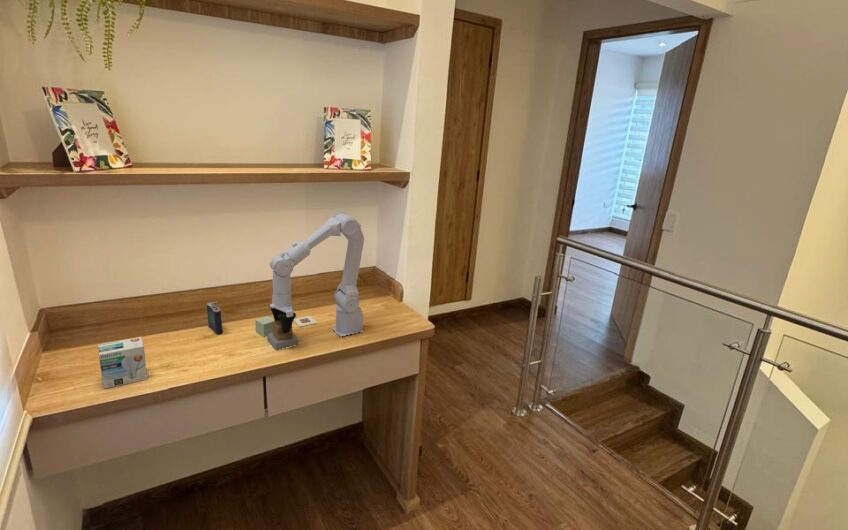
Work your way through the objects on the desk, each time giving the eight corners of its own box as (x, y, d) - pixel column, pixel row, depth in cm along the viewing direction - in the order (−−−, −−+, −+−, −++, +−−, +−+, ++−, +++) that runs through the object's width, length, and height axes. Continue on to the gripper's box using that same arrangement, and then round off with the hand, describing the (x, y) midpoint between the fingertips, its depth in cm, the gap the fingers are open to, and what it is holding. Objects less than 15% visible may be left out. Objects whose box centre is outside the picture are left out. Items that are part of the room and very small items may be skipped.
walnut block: (287, 331, 158) (287, 318, 157) (292, 337, 155) (292, 324, 153) (273, 334, 156) (272, 321, 154) (277, 340, 152) (277, 327, 150)
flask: (207, 325, 163) (205, 298, 160) (215, 323, 165) (213, 296, 162) (216, 335, 157) (214, 307, 153) (225, 333, 159) (223, 305, 155)
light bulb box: (103, 389, 124) (97, 355, 120) (102, 377, 129) (96, 344, 125) (148, 379, 130) (144, 346, 127) (145, 368, 135) (141, 336, 132)
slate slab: (289, 336, 161) (289, 329, 160) (298, 346, 155) (298, 338, 154) (267, 341, 157) (267, 334, 156) (275, 351, 151) (275, 343, 150)
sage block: (268, 328, 165) (267, 315, 164) (276, 332, 162) (275, 320, 161) (255, 332, 161) (255, 319, 160) (263, 337, 159) (263, 324, 157)
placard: (309, 316, 177) (309, 315, 177) (317, 323, 172) (317, 322, 172) (292, 319, 173) (292, 318, 173) (299, 327, 168) (299, 325, 168)
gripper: (262, 285, 153) (263, 322, 157) (277, 301, 142) (278, 339, 146) (283, 282, 157) (283, 318, 161) (299, 297, 146) (299, 334, 150)
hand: (282, 328), depth 154 cm, fingers open, 7 cm apart
